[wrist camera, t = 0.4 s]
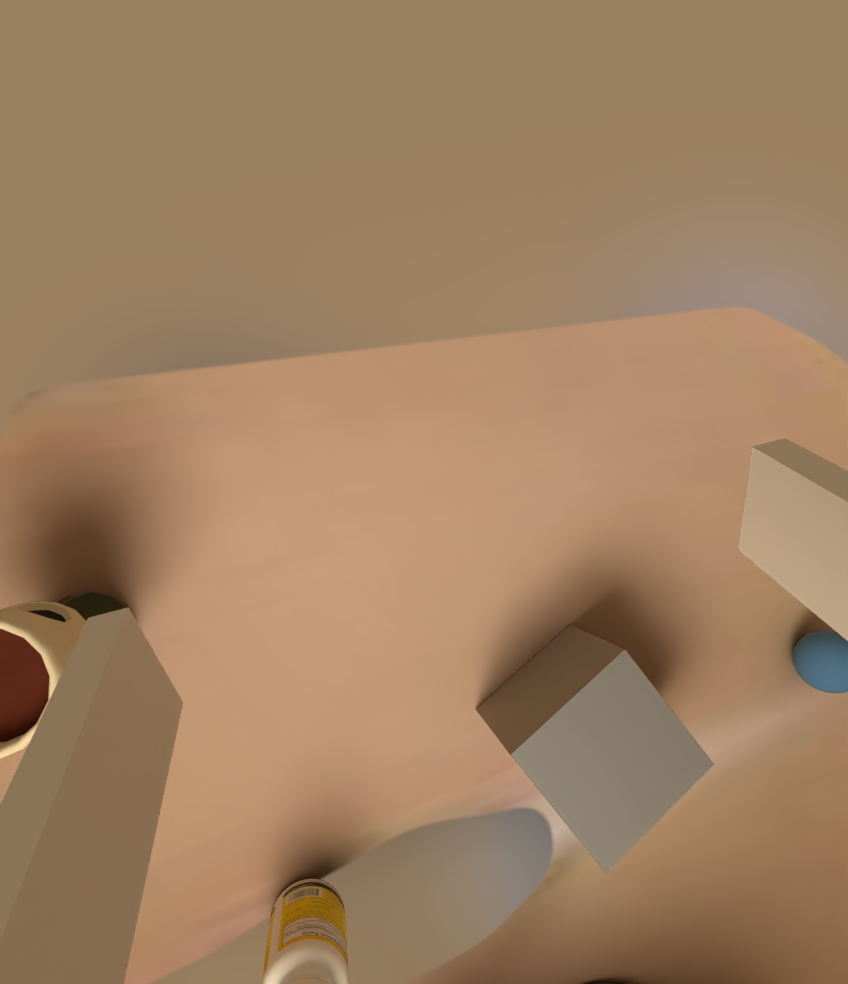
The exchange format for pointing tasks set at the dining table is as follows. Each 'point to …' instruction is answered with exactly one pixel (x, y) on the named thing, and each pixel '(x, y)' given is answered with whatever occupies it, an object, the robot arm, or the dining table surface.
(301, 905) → the supplement bottle
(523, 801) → the dining table surface
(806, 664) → the ball
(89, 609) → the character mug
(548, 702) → the matte grey cube
